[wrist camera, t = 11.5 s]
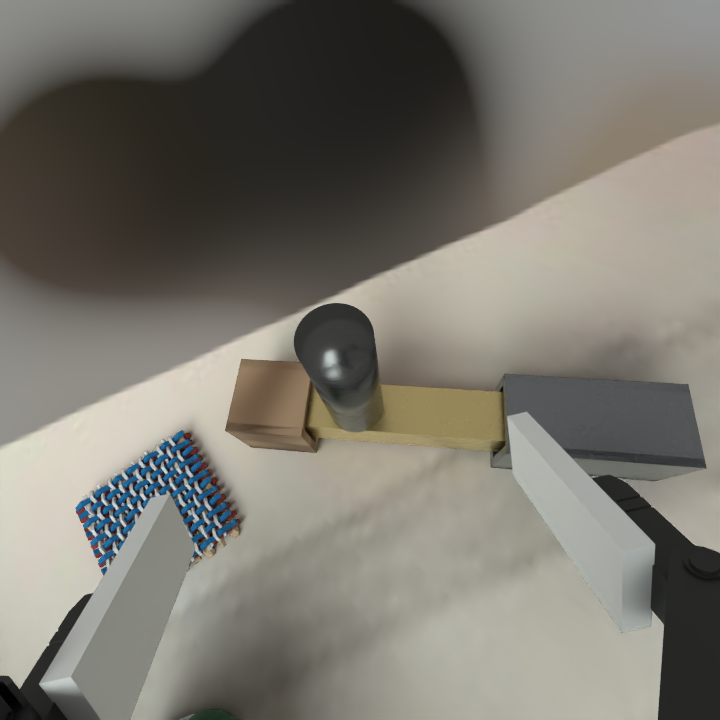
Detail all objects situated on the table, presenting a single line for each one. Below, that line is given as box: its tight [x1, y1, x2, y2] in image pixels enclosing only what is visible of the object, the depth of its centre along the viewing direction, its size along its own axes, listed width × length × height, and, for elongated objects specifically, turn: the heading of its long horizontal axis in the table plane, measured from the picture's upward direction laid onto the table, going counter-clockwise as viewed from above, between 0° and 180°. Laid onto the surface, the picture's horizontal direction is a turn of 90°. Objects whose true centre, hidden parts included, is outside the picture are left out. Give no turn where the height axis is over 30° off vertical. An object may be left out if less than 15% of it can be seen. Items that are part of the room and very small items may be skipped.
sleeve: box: [490, 374, 707, 481], centre depth 31 cm, size 12×6×6 cm, turn 84°
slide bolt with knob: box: [294, 303, 505, 452], centre depth 27 cm, size 23×4×15 cm, turn 84°
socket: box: [225, 359, 319, 453], centre depth 34 cm, size 6×6×6 cm
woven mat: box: [76, 430, 241, 575], centre depth 33 cm, size 10×11×2 cm
